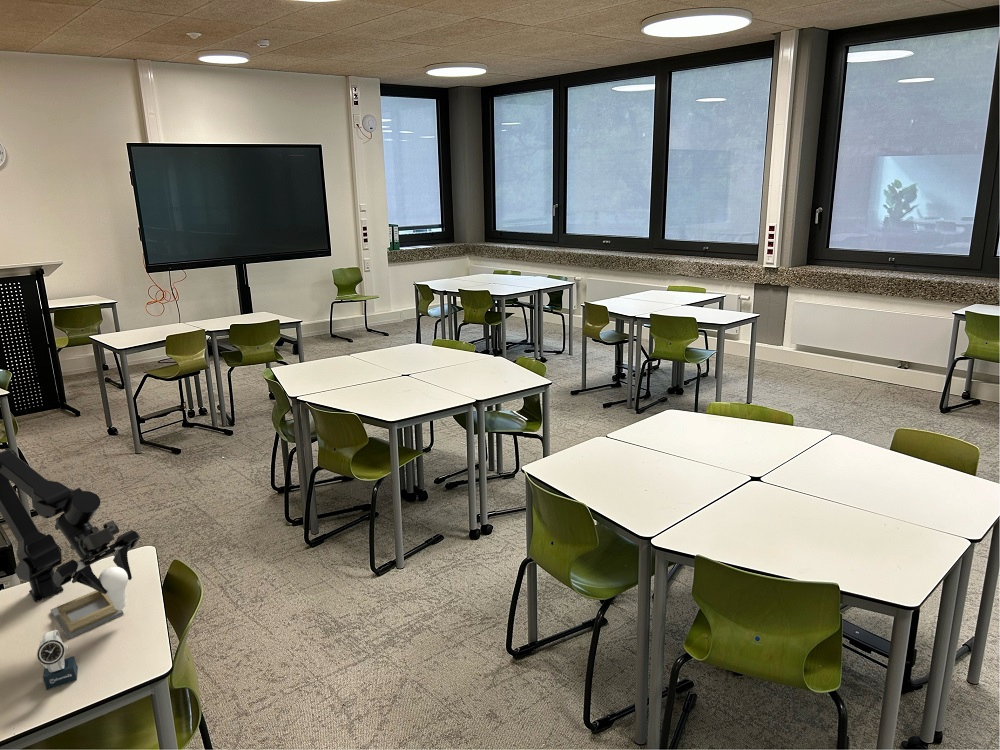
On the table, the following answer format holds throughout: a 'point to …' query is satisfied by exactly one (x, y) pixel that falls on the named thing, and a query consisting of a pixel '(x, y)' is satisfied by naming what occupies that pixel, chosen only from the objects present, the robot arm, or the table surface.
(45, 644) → the watch
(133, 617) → the table surface
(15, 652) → the table surface
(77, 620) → the socket plate
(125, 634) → the table surface
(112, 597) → the lightbulb
